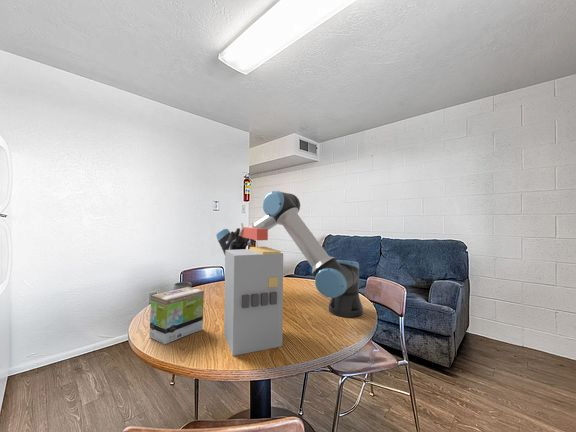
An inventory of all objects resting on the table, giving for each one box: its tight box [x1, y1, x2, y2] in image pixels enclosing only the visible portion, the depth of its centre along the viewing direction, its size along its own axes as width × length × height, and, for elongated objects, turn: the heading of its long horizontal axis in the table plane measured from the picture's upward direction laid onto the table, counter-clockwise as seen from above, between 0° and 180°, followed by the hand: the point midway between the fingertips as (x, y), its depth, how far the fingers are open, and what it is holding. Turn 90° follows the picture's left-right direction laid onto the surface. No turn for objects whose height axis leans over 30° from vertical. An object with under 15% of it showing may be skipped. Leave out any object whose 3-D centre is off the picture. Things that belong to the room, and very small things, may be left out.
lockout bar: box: [240, 226, 269, 241], centre depth 103 cm, size 28×4×4 cm, turn 24°
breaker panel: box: [223, 248, 284, 357], centre depth 87 cm, size 17×16×30 cm
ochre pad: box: [249, 246, 282, 254], centre depth 90 cm, size 16×6×1 cm, turn 23°
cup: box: [173, 281, 193, 290], centre depth 123 cm, size 10×9×10 cm
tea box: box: [148, 287, 205, 345], centre depth 92 cm, size 15×10×15 cm, turn 148°
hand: (247, 226), depth 109 cm, fingers closed on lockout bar, 4 cm apart
